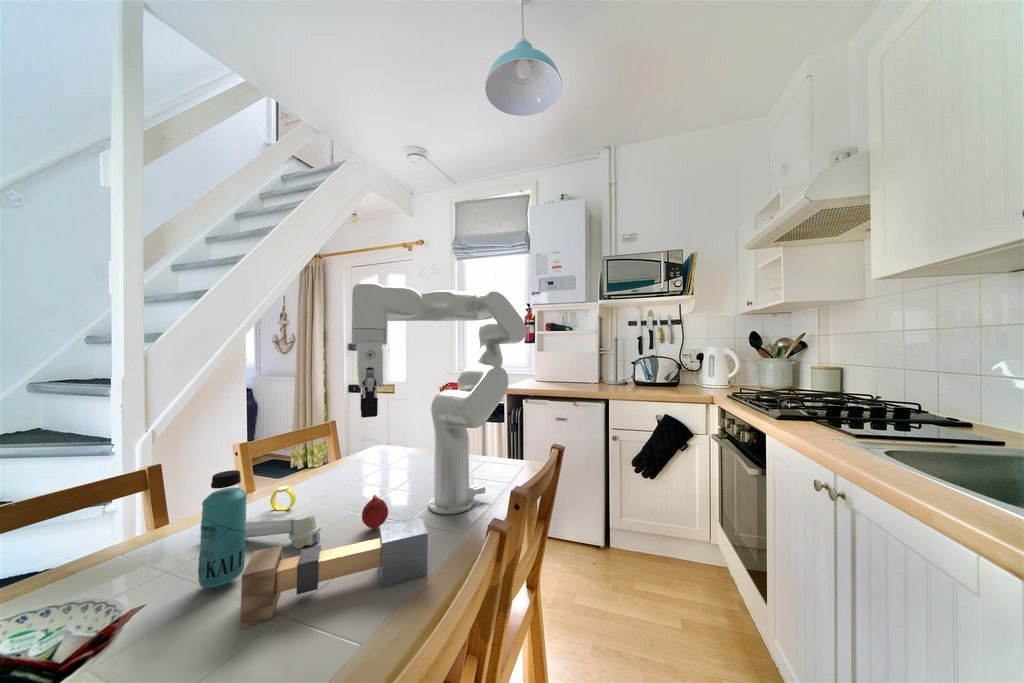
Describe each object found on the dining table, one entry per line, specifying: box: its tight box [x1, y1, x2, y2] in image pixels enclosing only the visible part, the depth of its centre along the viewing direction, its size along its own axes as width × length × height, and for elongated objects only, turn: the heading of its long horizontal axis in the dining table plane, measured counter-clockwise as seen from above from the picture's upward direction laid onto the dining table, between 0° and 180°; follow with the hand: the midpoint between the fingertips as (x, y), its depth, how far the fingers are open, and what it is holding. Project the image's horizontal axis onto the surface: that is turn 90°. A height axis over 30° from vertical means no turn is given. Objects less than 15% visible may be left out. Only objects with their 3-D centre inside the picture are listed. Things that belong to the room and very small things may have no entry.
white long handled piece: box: [245, 512, 322, 549], centre depth 74 cm, size 5×7×25 cm
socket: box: [239, 544, 283, 629], centre depth 54 cm, size 4×7×8 cm, turn 25°
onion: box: [361, 494, 389, 530], centre depth 79 cm, size 6×6×8 cm
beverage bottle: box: [197, 469, 248, 589], centre depth 60 cm, size 6×7×20 cm
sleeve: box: [378, 516, 429, 589], centre depth 64 cm, size 8×7×8 cm
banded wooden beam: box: [274, 537, 382, 596], centre depth 58 cm, size 19×5×5 cm, turn 115°
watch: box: [270, 485, 296, 511], centre depth 90 cm, size 6×3×6 cm, turn 89°
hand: (368, 413), depth 75 cm, fingers open, 9 cm apart
